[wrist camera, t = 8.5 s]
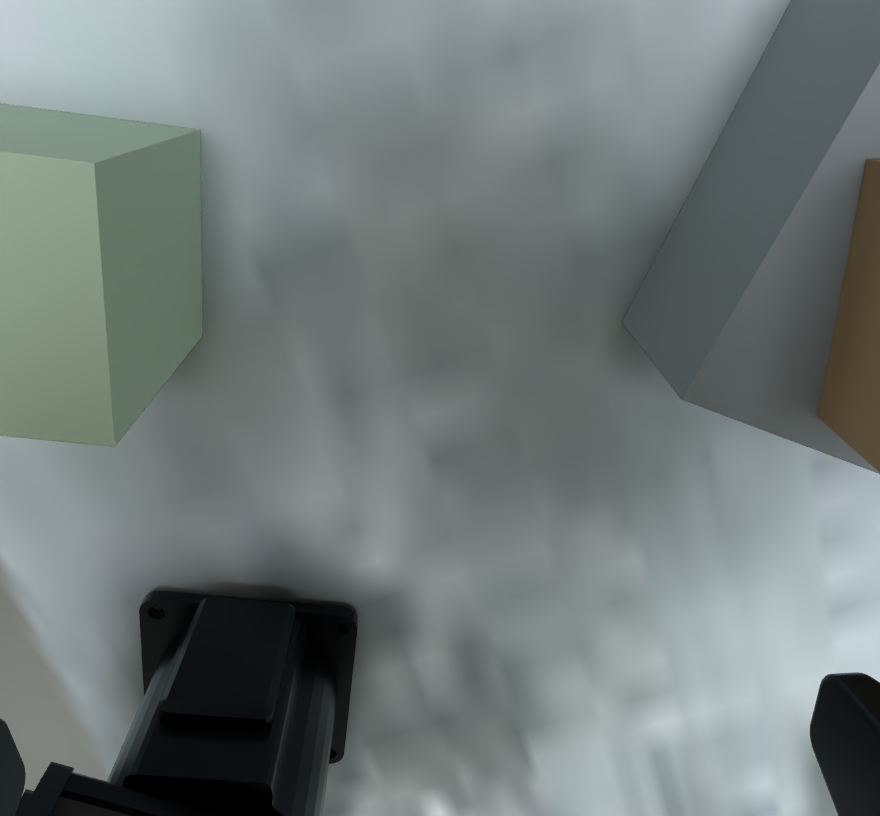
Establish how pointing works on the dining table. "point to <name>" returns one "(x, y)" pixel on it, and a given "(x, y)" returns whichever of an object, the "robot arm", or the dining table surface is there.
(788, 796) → the dining table surface
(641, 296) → the slate base
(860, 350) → the walnut block
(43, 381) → the sage block
